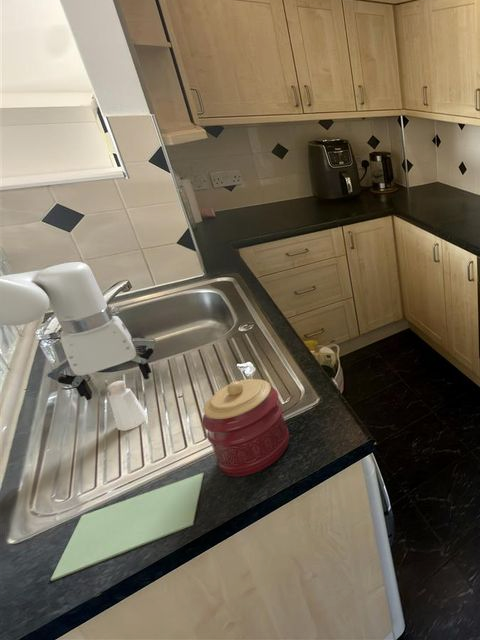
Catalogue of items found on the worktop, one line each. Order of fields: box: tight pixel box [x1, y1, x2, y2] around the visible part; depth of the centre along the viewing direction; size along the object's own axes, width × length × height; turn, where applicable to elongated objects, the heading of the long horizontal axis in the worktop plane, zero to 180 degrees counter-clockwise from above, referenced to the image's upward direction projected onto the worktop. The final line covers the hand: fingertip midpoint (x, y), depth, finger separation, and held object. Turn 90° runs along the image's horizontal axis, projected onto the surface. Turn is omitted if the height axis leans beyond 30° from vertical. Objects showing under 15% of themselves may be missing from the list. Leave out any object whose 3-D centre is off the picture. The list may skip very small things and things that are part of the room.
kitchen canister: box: [201, 378, 290, 478], centre depth 82 cm, size 13×13×18 cm
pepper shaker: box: [106, 380, 148, 432], centre depth 93 cm, size 5×5×11 cm
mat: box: [50, 472, 205, 582], centre depth 71 cm, size 18×12×1 cm, turn 119°
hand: (119, 386), depth 91 cm, fingers open, 9 cm apart
